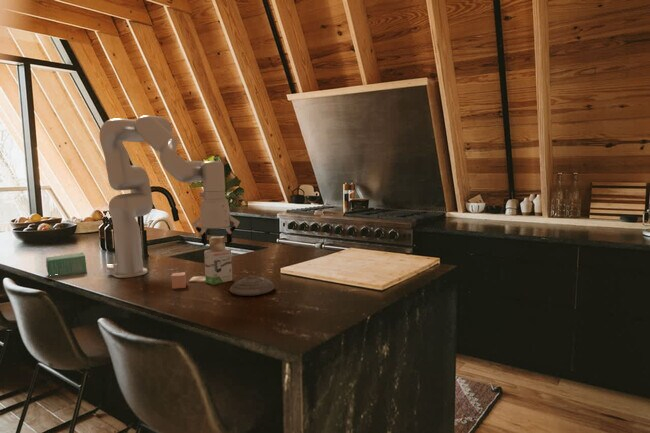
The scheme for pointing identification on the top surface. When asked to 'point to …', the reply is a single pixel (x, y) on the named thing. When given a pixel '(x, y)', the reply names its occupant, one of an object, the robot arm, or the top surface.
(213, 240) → the maple block
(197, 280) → the tile
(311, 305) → the top surface
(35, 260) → the top surface
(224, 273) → the ink box
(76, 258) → the box
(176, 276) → the terracotta block
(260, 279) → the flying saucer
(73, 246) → the top surface
